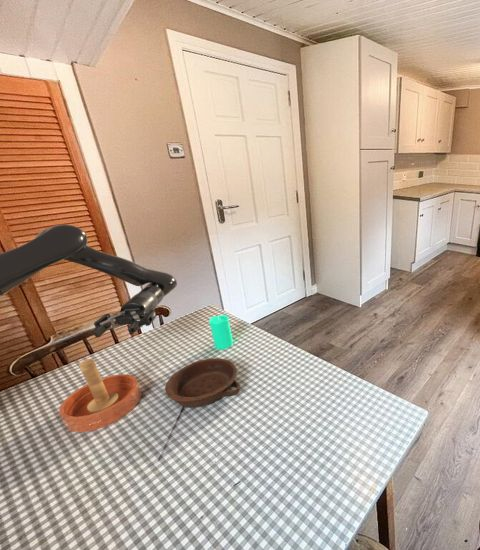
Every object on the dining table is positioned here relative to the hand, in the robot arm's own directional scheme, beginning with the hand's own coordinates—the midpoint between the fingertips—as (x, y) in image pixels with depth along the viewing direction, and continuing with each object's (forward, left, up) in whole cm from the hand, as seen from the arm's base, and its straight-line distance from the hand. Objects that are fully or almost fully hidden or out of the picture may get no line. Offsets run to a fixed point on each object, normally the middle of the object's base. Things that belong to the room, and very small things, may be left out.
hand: (113, 332), depth 85 cm
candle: (+24, +13, -16) cm, 32 cm away
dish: (+24, -10, -16) cm, 31 cm away
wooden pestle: (0, -12, -15) cm, 20 cm away
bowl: (0, -12, -16) cm, 20 cm away
